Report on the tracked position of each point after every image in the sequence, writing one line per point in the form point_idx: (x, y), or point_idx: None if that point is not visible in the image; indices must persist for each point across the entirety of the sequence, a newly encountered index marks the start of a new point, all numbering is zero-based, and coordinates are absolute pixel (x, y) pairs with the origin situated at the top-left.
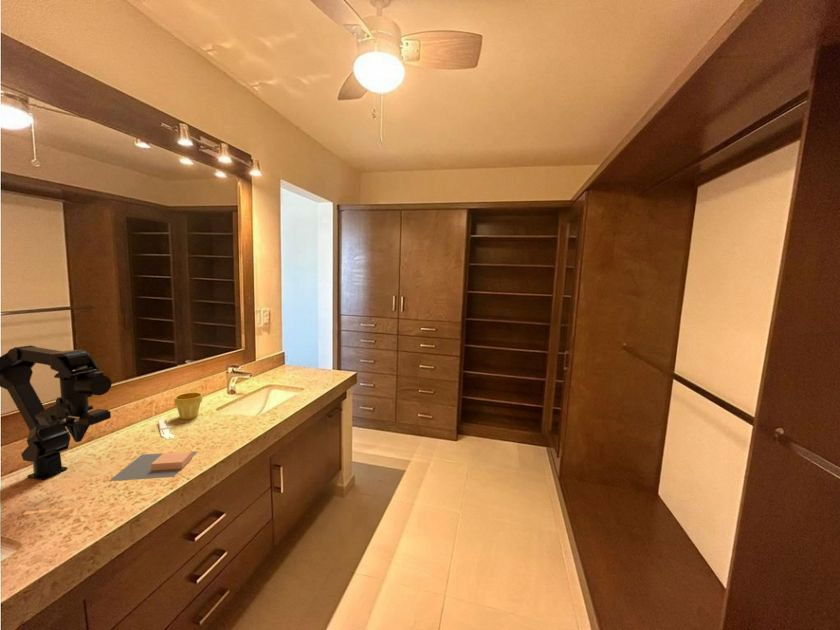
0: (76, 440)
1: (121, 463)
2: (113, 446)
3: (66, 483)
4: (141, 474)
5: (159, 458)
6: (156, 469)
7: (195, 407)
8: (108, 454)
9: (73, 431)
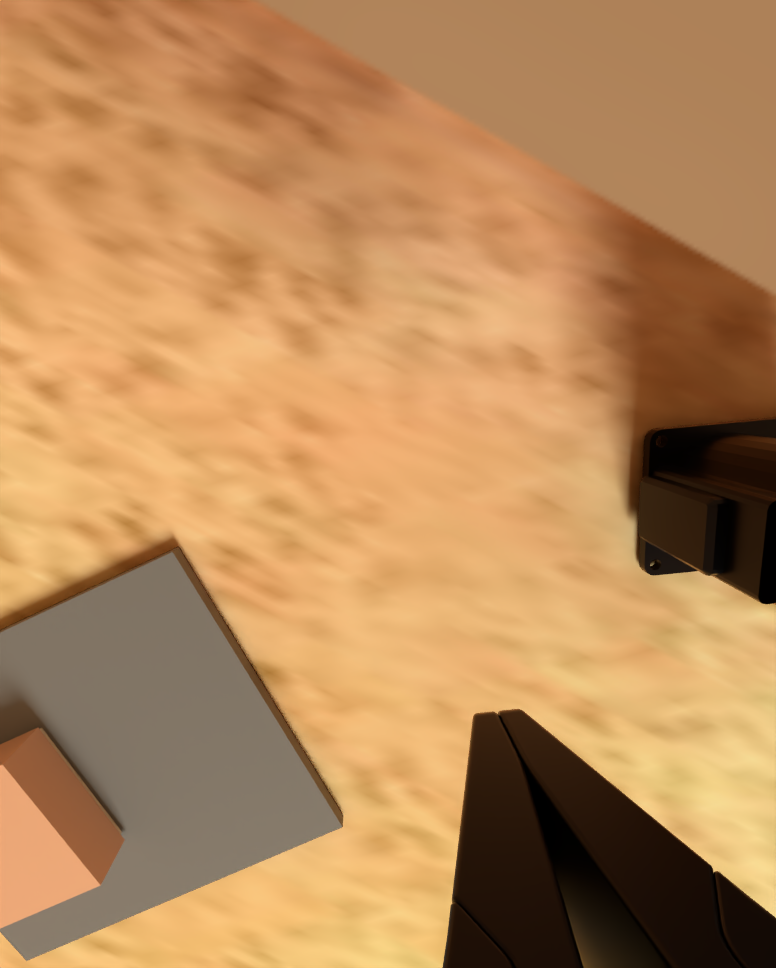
0: (489, 731)
1: (372, 720)
2: None
3: (446, 455)
4: (51, 672)
5: (37, 830)
6: (11, 740)
7: None
8: None
9: (629, 937)
